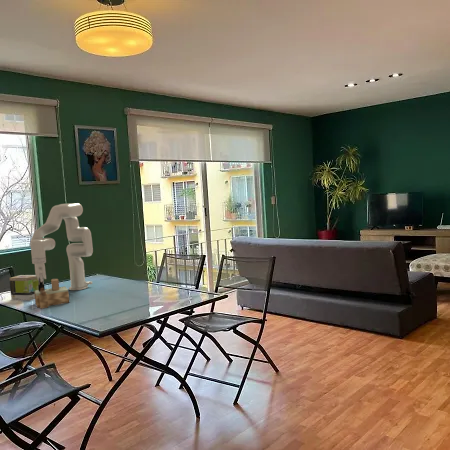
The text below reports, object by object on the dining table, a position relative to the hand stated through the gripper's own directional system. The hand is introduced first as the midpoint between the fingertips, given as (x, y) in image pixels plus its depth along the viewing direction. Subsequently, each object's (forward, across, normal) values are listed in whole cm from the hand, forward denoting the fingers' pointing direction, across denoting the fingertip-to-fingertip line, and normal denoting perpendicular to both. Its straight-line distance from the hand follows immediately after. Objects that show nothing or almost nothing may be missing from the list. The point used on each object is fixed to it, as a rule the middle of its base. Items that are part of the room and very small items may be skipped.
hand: (41, 291), depth 266 cm
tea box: (+9, +28, +8) cm, 30 cm away
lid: (+3, +3, -5) cm, 7 cm away
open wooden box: (+9, +1, -6) cm, 10 cm away
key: (+1, -7, 0) cm, 7 cm away
